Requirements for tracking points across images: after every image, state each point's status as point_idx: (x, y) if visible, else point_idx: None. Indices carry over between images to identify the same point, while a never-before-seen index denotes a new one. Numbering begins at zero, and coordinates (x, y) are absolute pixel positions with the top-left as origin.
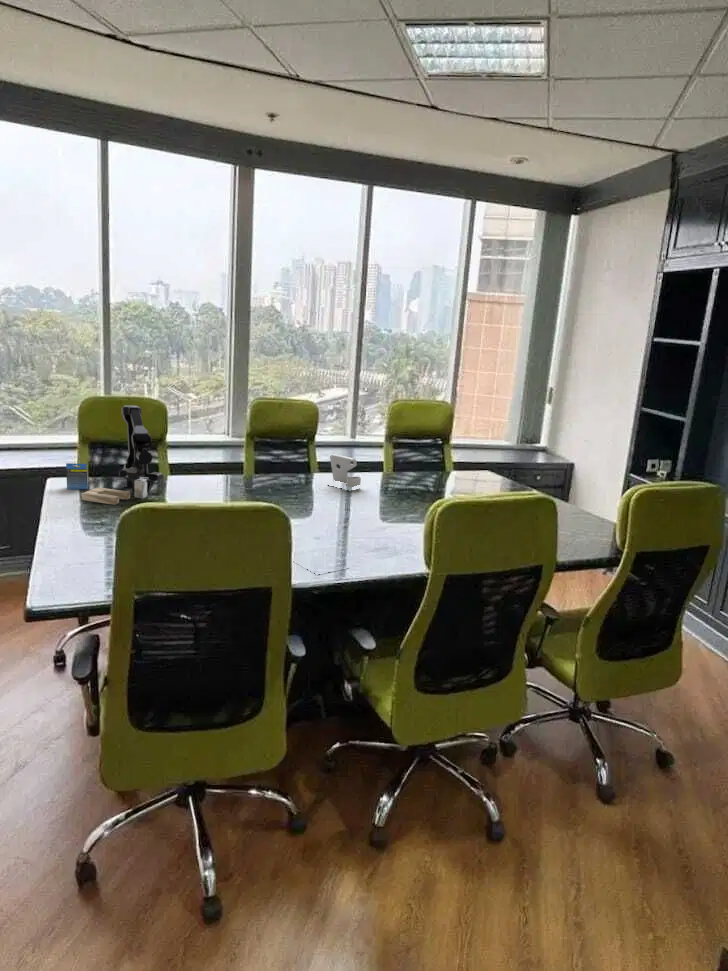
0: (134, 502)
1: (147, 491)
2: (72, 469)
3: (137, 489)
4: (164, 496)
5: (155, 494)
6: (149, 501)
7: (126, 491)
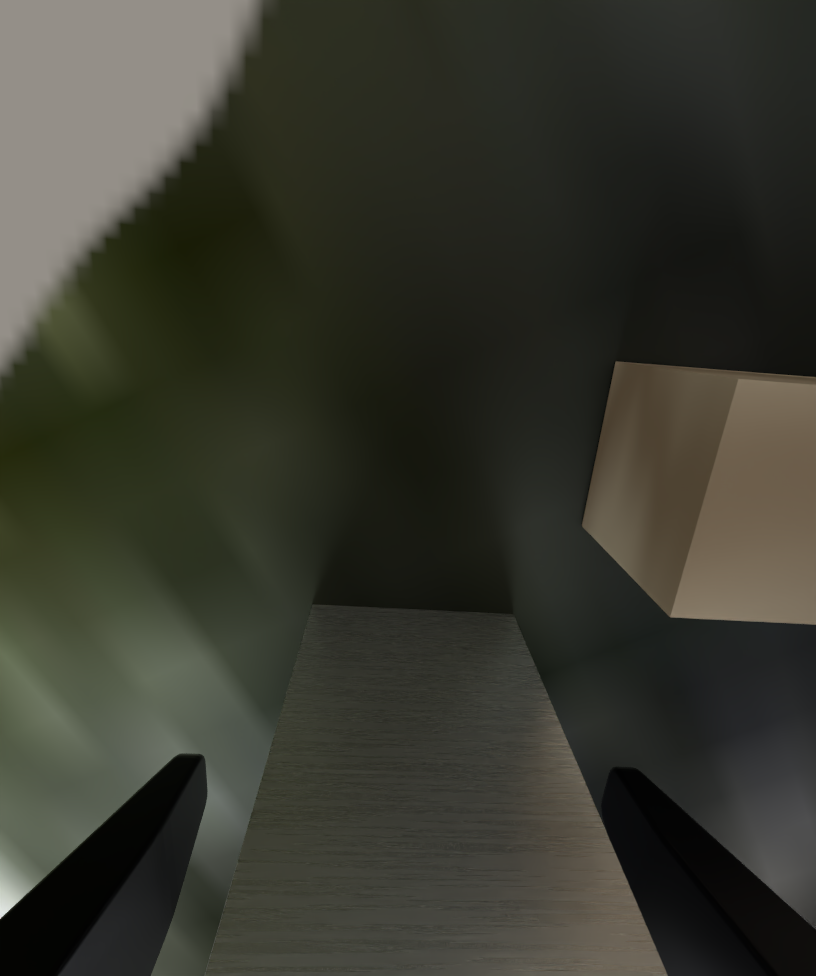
0: (310, 182)
1: (154, 807)
2: None
3: (475, 792)
4: (26, 868)
5: None
6: (26, 444)
7: (799, 599)
